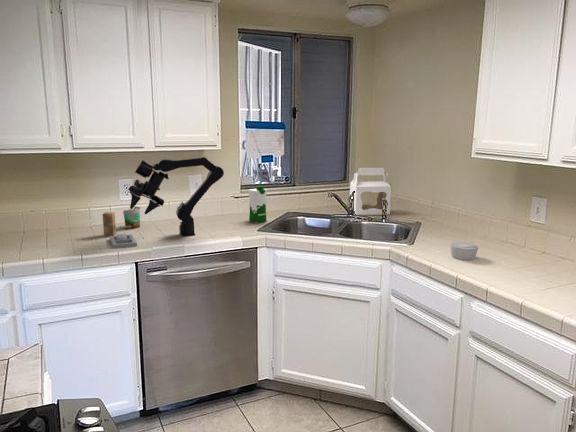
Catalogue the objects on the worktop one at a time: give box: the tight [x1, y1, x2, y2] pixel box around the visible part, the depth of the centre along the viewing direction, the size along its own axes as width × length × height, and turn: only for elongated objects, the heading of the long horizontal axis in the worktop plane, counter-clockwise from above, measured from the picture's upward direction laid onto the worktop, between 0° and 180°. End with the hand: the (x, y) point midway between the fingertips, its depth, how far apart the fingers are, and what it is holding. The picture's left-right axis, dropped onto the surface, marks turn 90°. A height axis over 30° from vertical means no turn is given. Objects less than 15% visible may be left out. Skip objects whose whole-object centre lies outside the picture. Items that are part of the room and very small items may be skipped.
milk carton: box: [247, 185, 268, 223], centre depth 273 cm, size 9×9×20 cm
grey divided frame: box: [109, 233, 138, 249], centre depth 224 cm, size 10×18×3 cm, turn 25°
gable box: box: [349, 167, 392, 216], centre depth 300 cm, size 22×13×28 cm, turn 100°
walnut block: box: [102, 211, 117, 238], centre depth 237 cm, size 4×4×11 cm
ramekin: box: [449, 241, 479, 261], centre depth 205 cm, size 11×11×5 cm
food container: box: [122, 206, 142, 230], centre depth 256 cm, size 12×6×10 cm, turn 168°
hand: (138, 211), depth 232 cm, fingers open, 9 cm apart
